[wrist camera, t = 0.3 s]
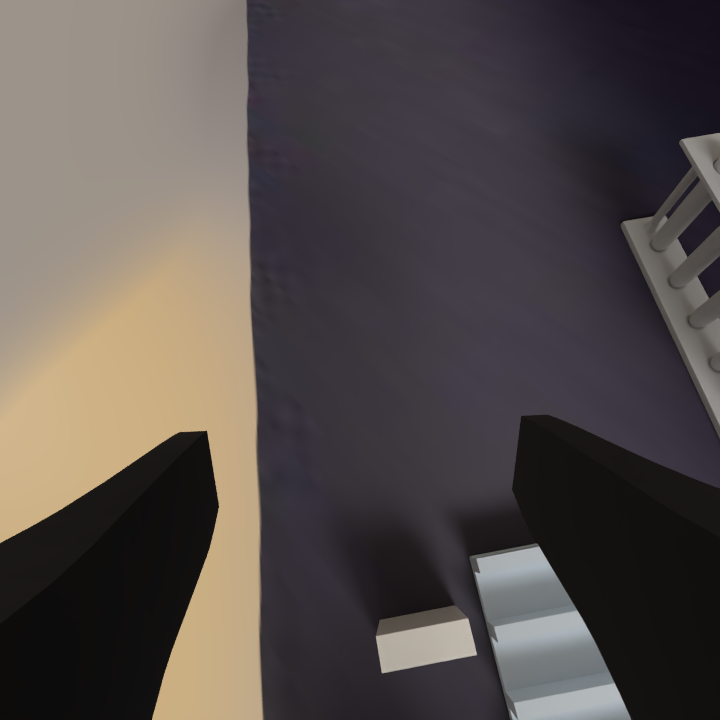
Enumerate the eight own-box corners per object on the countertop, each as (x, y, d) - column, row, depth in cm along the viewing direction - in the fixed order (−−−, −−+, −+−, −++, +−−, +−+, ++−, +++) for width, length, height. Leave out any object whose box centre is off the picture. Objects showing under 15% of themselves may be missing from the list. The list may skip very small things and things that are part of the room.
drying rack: (685, 752, 30) (719, 777, 27) (526, 783, 30) (542, 811, 27) (602, 530, 36) (622, 528, 33) (469, 556, 36) (476, 557, 33)
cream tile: (461, 634, 34) (477, 654, 28) (384, 649, 34) (382, 673, 28) (454, 605, 35) (468, 618, 28) (379, 619, 35) (375, 636, 28)
